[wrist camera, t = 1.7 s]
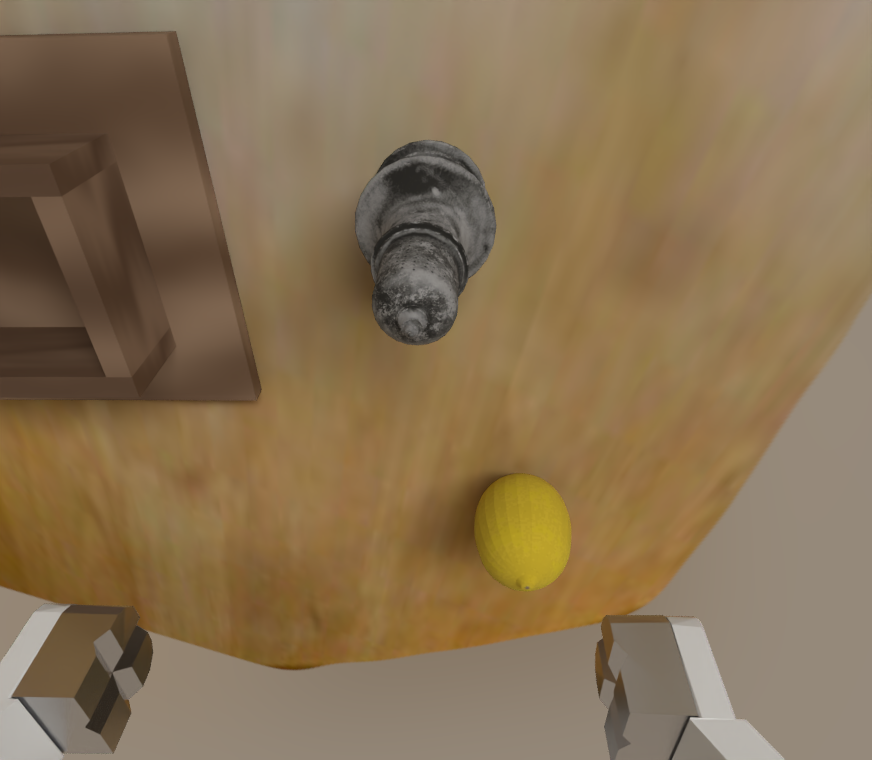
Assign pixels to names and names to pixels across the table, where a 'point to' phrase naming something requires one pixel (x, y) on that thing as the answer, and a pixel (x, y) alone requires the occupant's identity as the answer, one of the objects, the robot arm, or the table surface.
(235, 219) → the table surface
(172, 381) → the caddy
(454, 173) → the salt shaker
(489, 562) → the lemon
